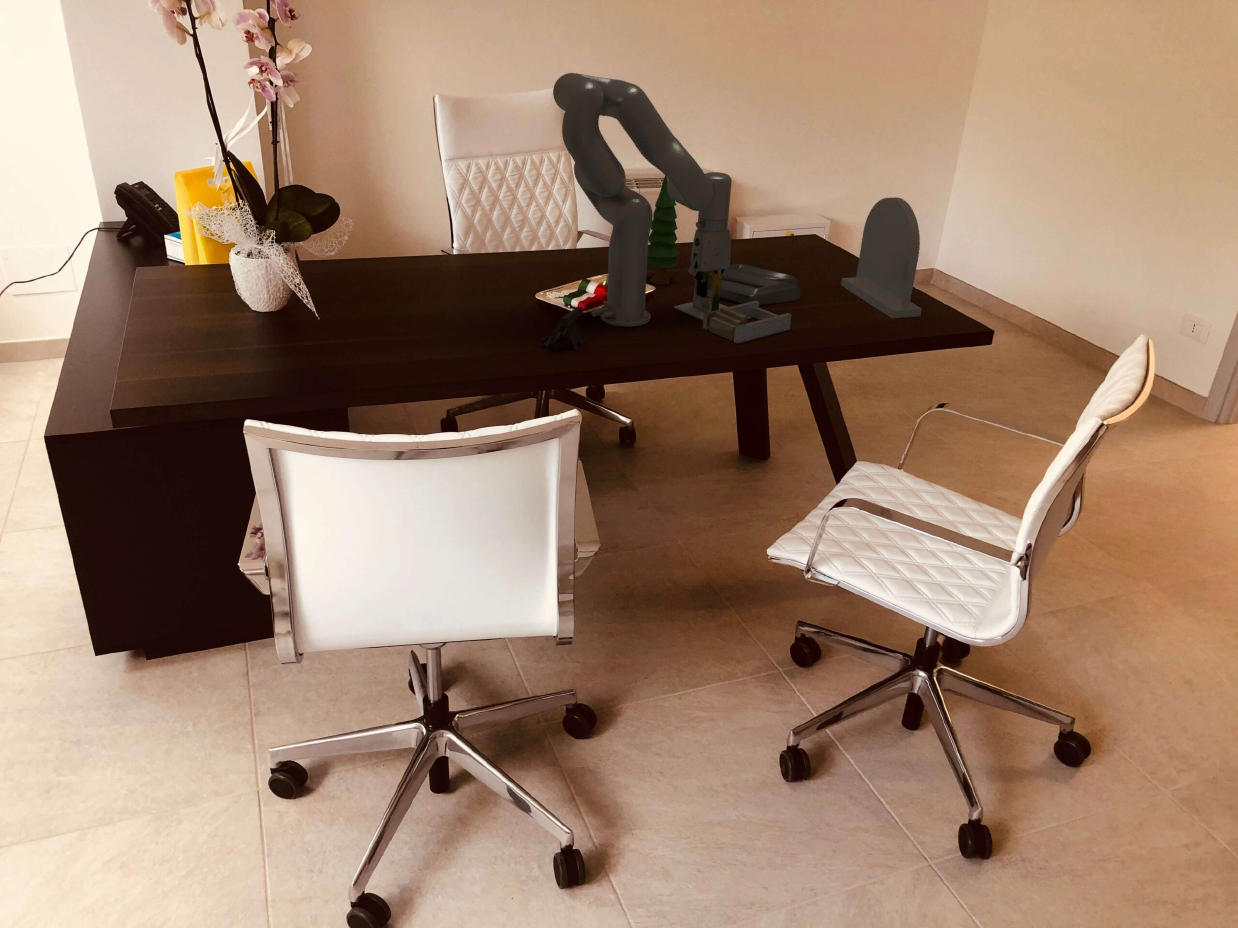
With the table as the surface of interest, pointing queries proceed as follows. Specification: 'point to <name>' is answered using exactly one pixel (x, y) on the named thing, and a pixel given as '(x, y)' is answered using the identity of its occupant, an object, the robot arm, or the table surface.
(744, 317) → the offcut stack
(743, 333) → the rack
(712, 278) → the crayon box
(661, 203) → the decorative tree
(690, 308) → the mat
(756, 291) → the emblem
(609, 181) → the robot arm
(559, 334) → the portable electronic device stand
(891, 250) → the gray tombstone
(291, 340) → the table surface
